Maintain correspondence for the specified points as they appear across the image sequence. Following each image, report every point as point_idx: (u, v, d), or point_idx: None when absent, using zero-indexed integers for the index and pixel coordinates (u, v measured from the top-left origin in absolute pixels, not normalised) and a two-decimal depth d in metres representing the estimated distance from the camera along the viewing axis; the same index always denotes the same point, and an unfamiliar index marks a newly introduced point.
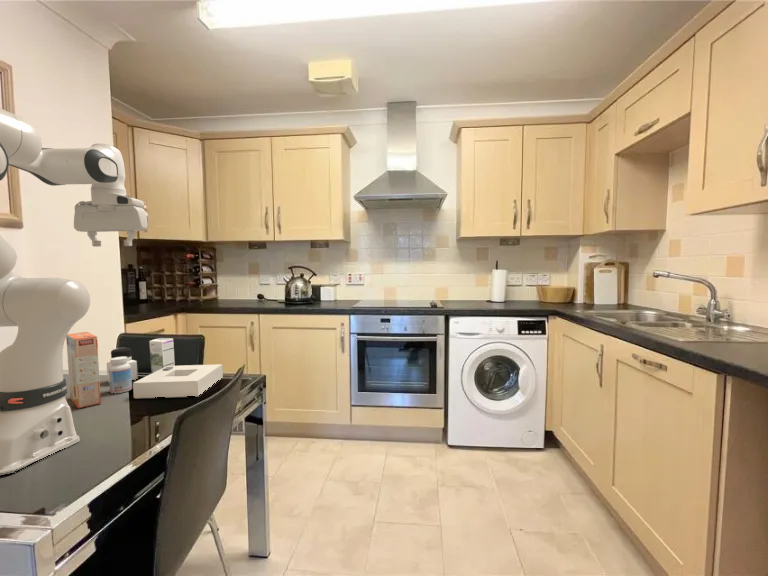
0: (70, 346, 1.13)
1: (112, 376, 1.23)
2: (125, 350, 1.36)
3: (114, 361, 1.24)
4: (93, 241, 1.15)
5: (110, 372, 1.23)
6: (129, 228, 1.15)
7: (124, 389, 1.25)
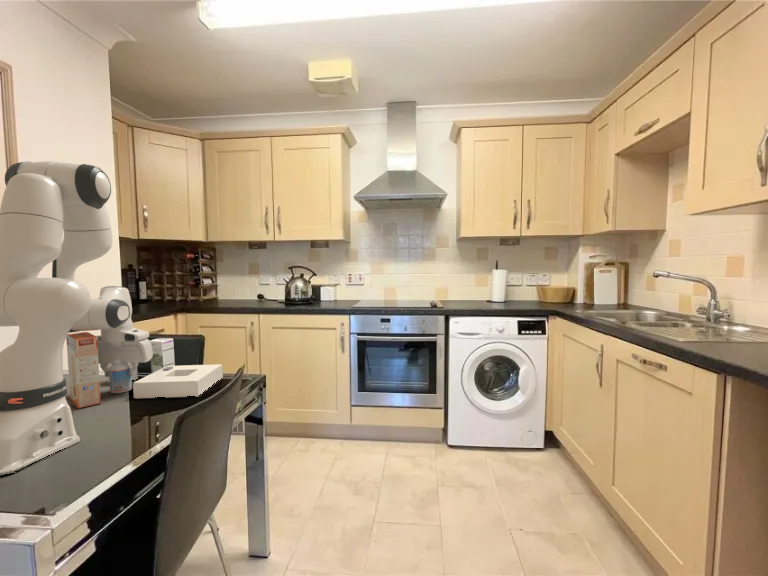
0: (70, 346, 1.13)
1: (112, 376, 1.23)
2: None
3: (114, 361, 1.24)
4: (105, 372, 1.25)
5: (110, 372, 1.23)
6: (135, 361, 1.24)
7: (124, 389, 1.25)
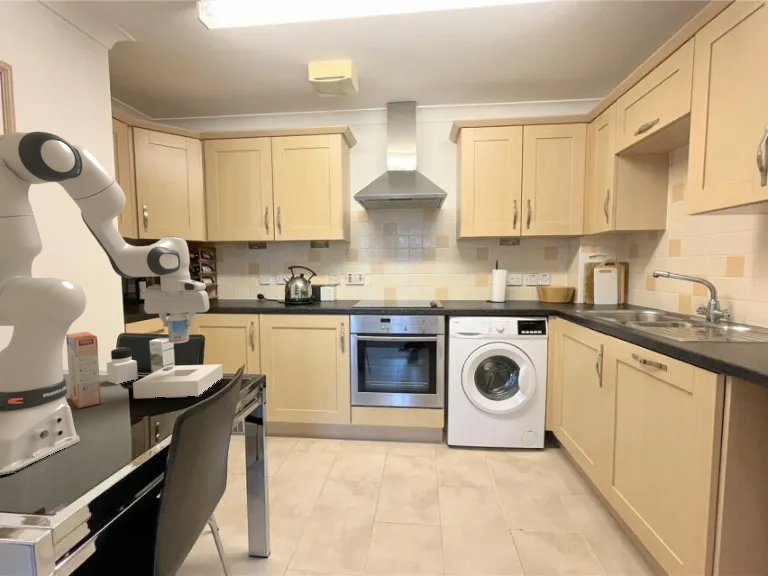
0: (70, 346, 1.13)
1: (172, 326, 1.25)
2: (125, 350, 1.36)
3: (173, 311, 1.25)
4: (164, 322, 1.27)
5: (170, 322, 1.25)
6: (194, 311, 1.26)
7: (183, 339, 1.26)
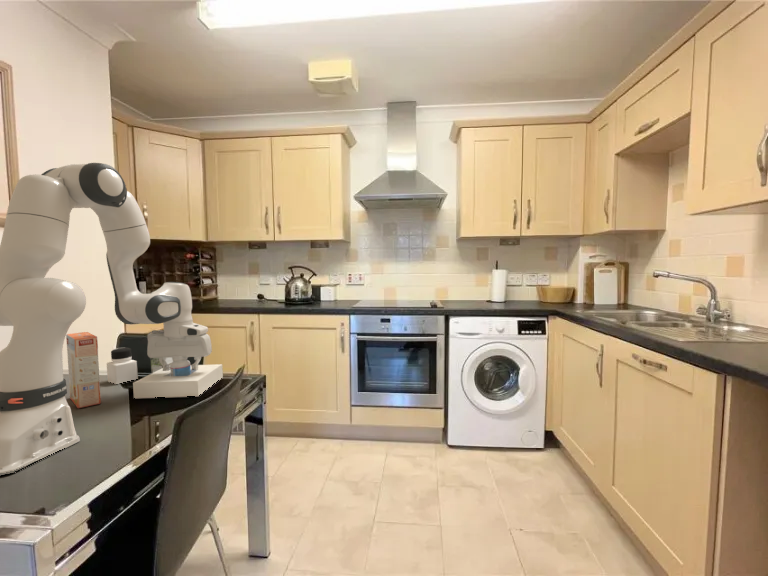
0: (70, 346, 1.13)
1: (175, 373, 1.26)
2: (125, 350, 1.36)
3: (176, 358, 1.26)
4: (164, 366, 1.28)
5: (172, 369, 1.26)
6: (196, 355, 1.27)
7: None
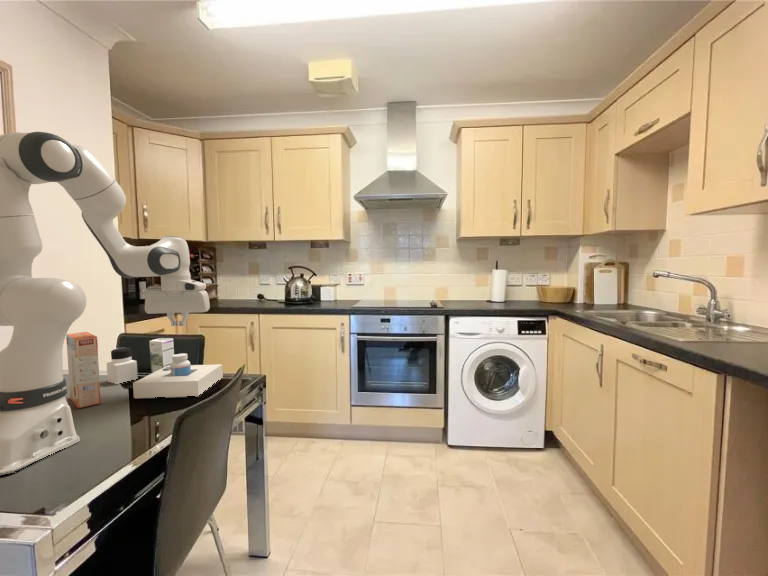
0: (70, 346, 1.13)
1: (175, 373, 1.26)
2: (125, 350, 1.36)
3: (176, 358, 1.26)
4: (172, 322, 1.27)
5: (172, 369, 1.26)
6: (194, 311, 1.26)
7: None
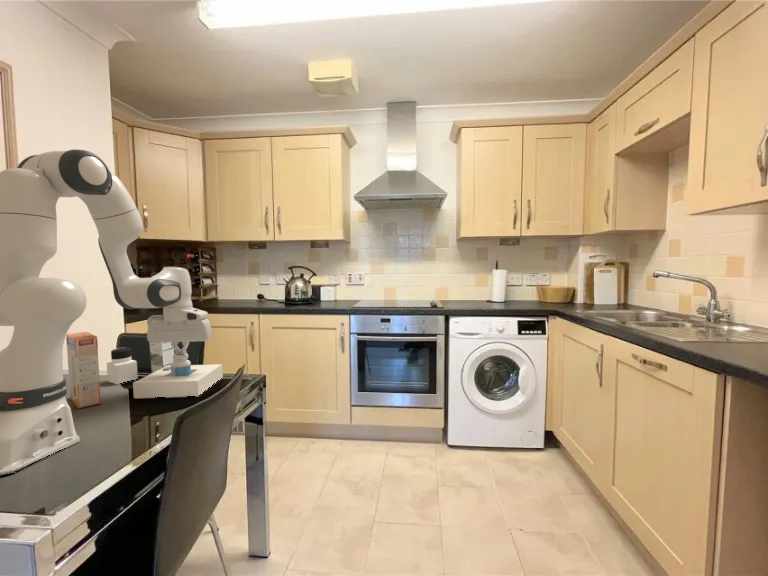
0: (70, 346, 1.13)
1: (175, 372, 1.26)
2: (125, 350, 1.36)
3: (177, 357, 1.26)
4: (176, 350, 1.28)
5: (173, 368, 1.26)
6: (196, 340, 1.27)
7: None
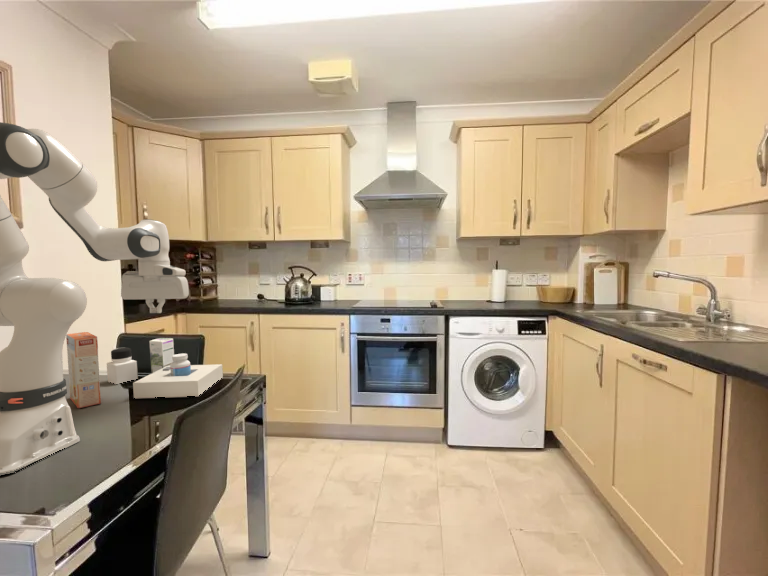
0: (70, 346, 1.13)
1: (175, 373, 1.26)
2: (125, 350, 1.36)
3: (176, 358, 1.26)
4: (151, 308, 1.23)
5: (172, 369, 1.26)
6: (172, 297, 1.22)
7: None
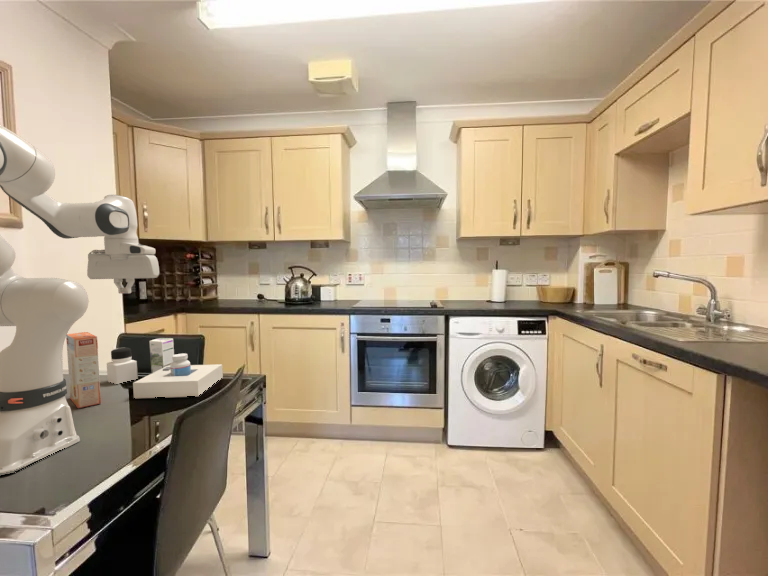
0: (70, 346, 1.13)
1: (175, 373, 1.26)
2: (125, 350, 1.36)
3: (176, 358, 1.26)
4: (119, 288, 1.18)
5: (172, 369, 1.26)
6: (141, 276, 1.17)
7: None
